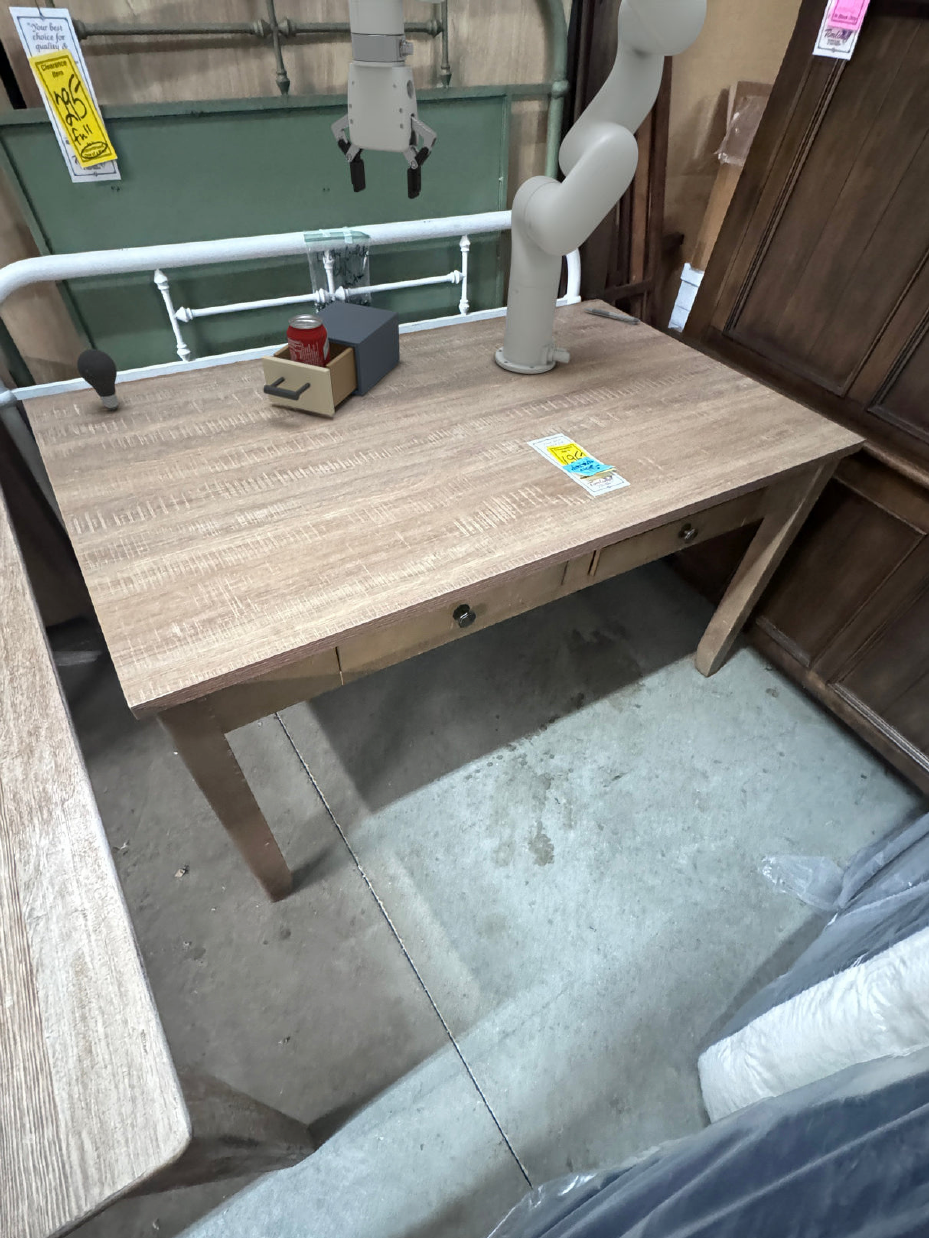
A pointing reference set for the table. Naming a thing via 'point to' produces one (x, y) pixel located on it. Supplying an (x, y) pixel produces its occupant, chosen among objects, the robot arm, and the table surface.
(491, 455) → the table surface
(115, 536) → the table surface
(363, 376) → the cabinet
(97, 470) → the table surface
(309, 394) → the drawer
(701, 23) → the robot arm
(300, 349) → the soda can
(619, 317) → the pen
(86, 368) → the light bulb
